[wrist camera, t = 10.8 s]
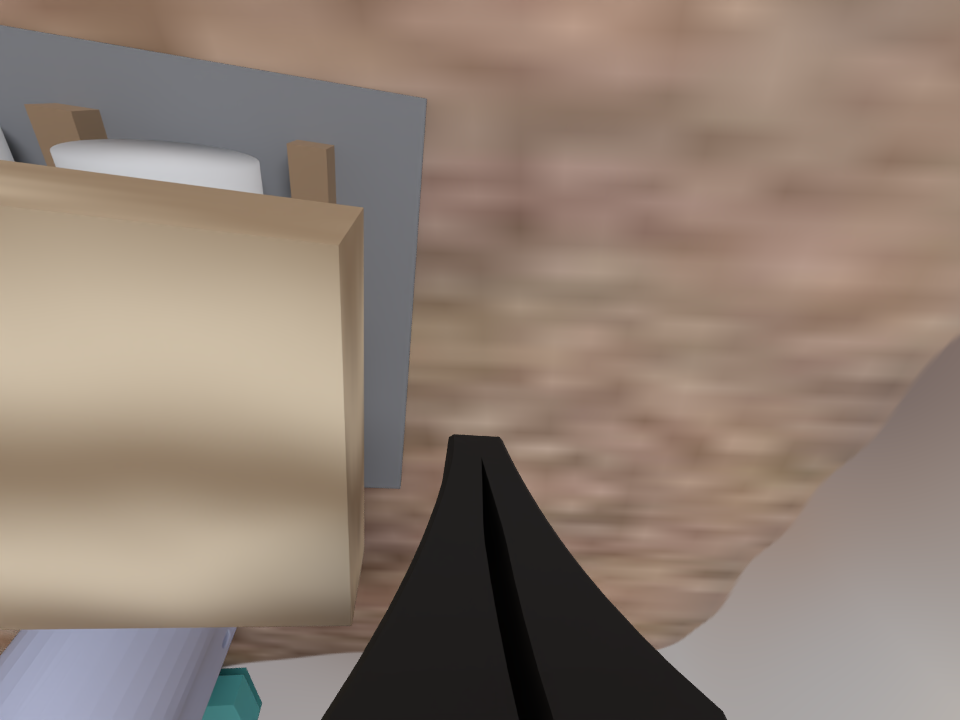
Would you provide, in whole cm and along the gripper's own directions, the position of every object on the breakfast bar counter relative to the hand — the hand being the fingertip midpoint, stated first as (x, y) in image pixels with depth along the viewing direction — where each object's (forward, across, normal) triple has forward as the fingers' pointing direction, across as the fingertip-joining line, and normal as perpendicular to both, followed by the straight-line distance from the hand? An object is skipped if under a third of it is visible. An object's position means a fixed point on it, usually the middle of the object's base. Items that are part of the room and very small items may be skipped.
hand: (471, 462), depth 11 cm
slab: (+1, +9, 0) cm, 9 cm away
